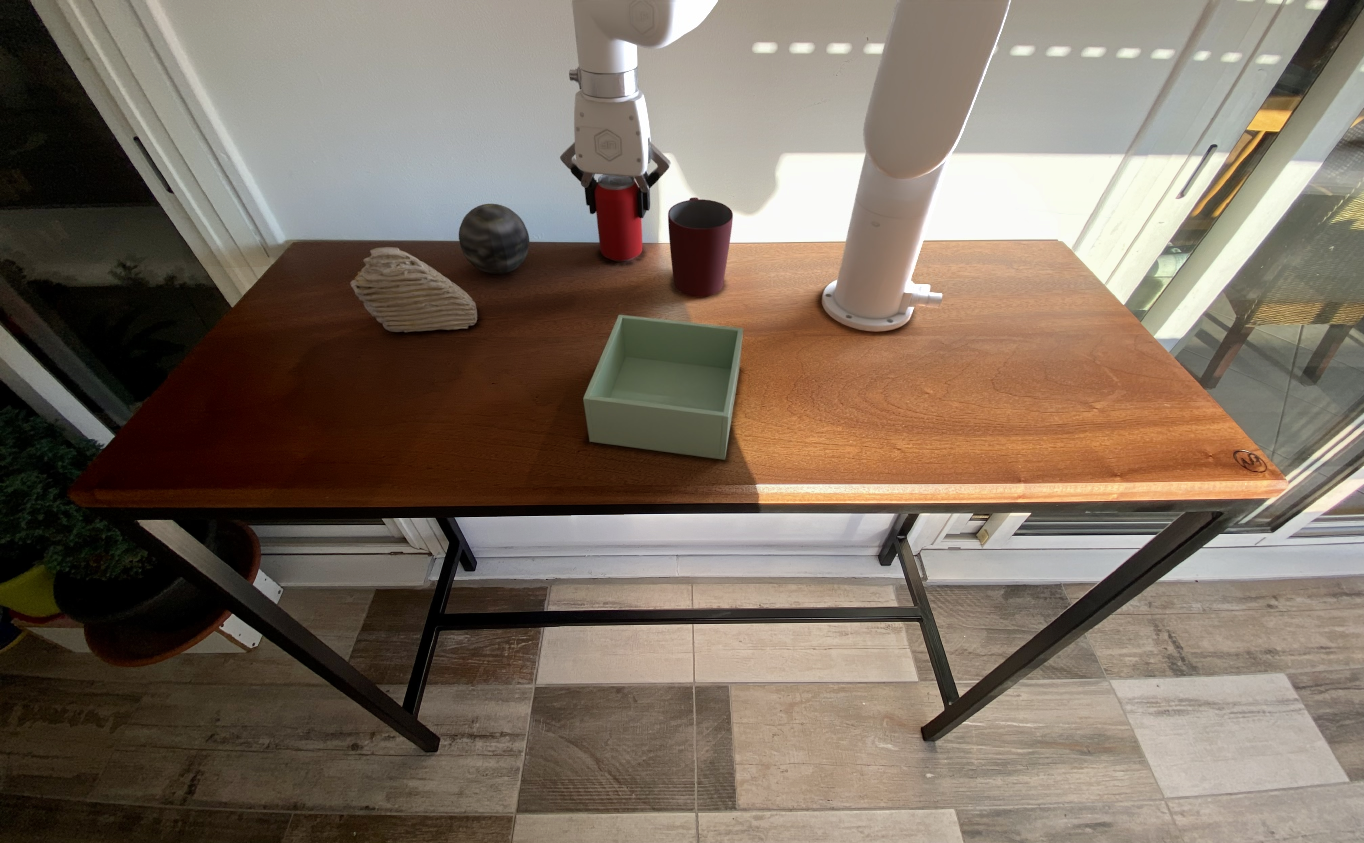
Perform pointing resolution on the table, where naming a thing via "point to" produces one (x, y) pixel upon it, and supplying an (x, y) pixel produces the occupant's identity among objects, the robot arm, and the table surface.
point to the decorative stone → (494, 238)
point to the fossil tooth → (411, 294)
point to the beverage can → (618, 217)
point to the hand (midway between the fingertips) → (618, 211)
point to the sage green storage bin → (665, 386)
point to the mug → (699, 245)
